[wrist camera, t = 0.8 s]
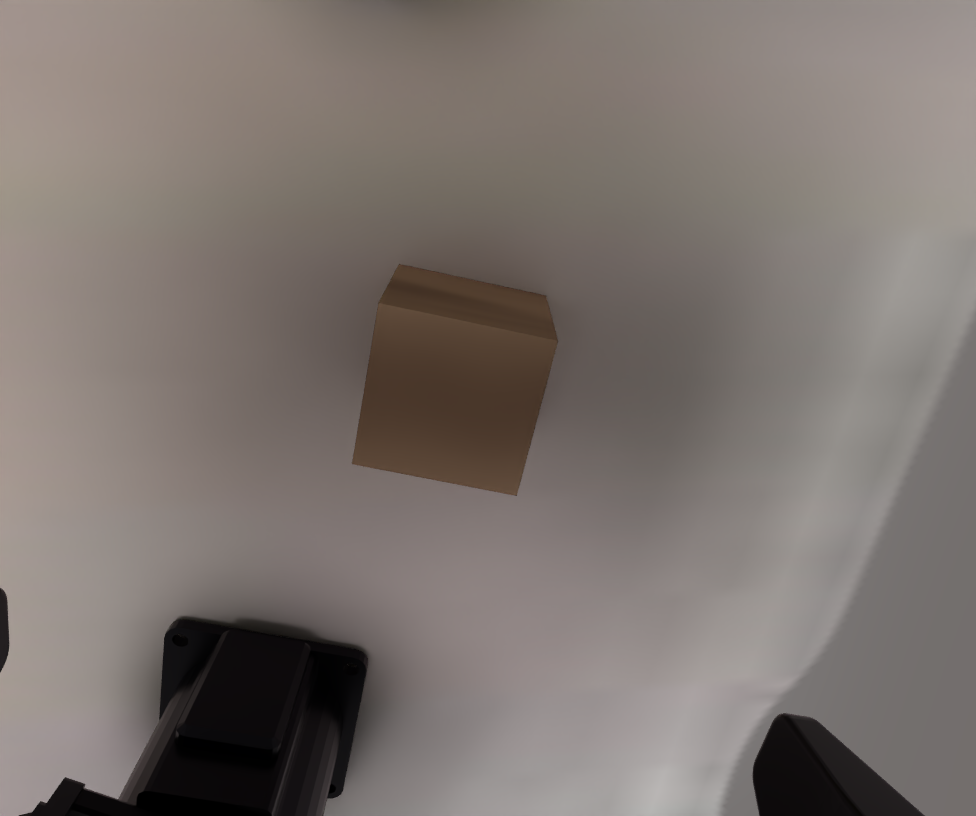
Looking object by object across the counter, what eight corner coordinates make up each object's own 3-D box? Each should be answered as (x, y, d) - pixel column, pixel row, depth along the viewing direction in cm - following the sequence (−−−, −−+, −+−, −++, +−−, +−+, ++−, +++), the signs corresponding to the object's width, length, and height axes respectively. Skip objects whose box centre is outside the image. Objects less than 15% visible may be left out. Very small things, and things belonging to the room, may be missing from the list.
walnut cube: (512, 426, 22) (516, 495, 18) (376, 399, 21) (351, 463, 18) (545, 294, 20) (557, 340, 16) (399, 263, 20) (378, 302, 16)
